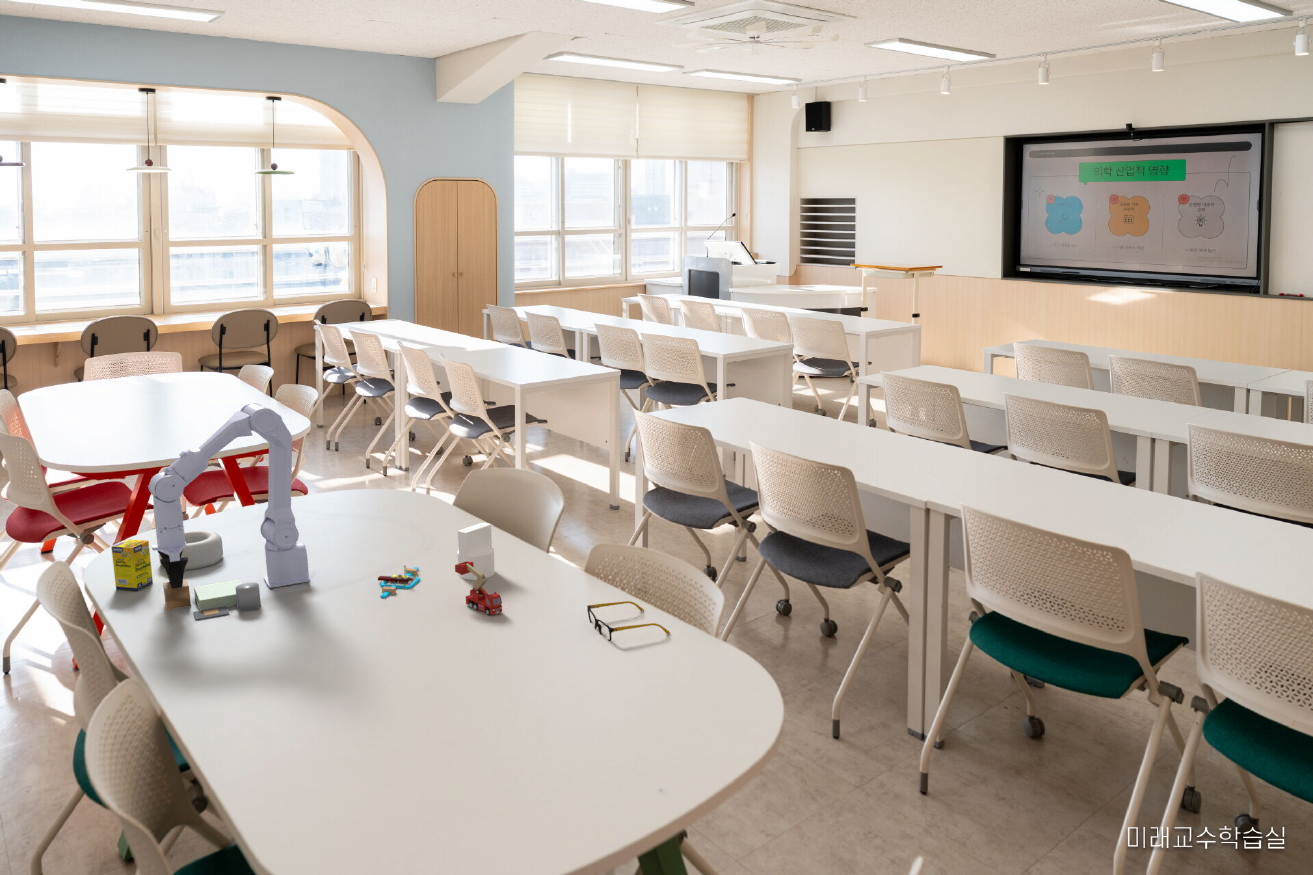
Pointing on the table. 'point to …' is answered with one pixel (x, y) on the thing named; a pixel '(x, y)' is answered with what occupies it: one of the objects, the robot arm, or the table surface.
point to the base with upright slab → (476, 549)
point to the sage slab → (216, 594)
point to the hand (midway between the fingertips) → (175, 582)
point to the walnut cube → (177, 596)
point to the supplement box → (132, 564)
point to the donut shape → (201, 549)
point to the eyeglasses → (617, 627)
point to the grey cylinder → (248, 596)
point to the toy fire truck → (480, 591)
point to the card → (211, 613)
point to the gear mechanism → (398, 581)
